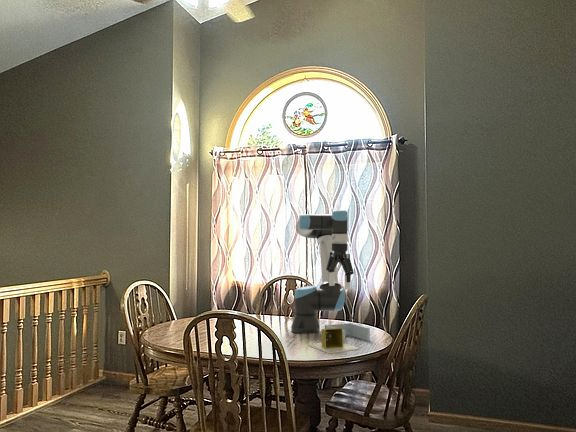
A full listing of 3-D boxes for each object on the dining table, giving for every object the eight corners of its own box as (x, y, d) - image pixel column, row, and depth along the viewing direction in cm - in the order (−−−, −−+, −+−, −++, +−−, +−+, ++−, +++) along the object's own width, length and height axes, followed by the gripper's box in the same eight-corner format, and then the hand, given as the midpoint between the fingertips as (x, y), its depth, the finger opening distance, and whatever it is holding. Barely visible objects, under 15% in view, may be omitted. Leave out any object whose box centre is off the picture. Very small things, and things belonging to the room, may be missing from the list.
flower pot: (317, 346, 241) (325, 349, 233) (317, 327, 242) (324, 328, 234) (335, 345, 244) (343, 347, 235) (334, 326, 245) (342, 327, 236)
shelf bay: (324, 337, 260) (324, 325, 260) (350, 334, 268) (350, 322, 268) (343, 343, 246) (343, 330, 246) (369, 340, 254) (369, 328, 254)
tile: (307, 345, 243) (307, 344, 243) (336, 341, 250) (336, 340, 250) (329, 353, 227) (329, 352, 227) (359, 349, 235) (359, 348, 235)
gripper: (319, 241, 260) (319, 284, 260) (347, 244, 238) (347, 291, 238) (332, 241, 263) (332, 283, 263) (361, 244, 241) (361, 290, 241)
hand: (339, 287), depth 251 cm, fingers open, 13 cm apart
